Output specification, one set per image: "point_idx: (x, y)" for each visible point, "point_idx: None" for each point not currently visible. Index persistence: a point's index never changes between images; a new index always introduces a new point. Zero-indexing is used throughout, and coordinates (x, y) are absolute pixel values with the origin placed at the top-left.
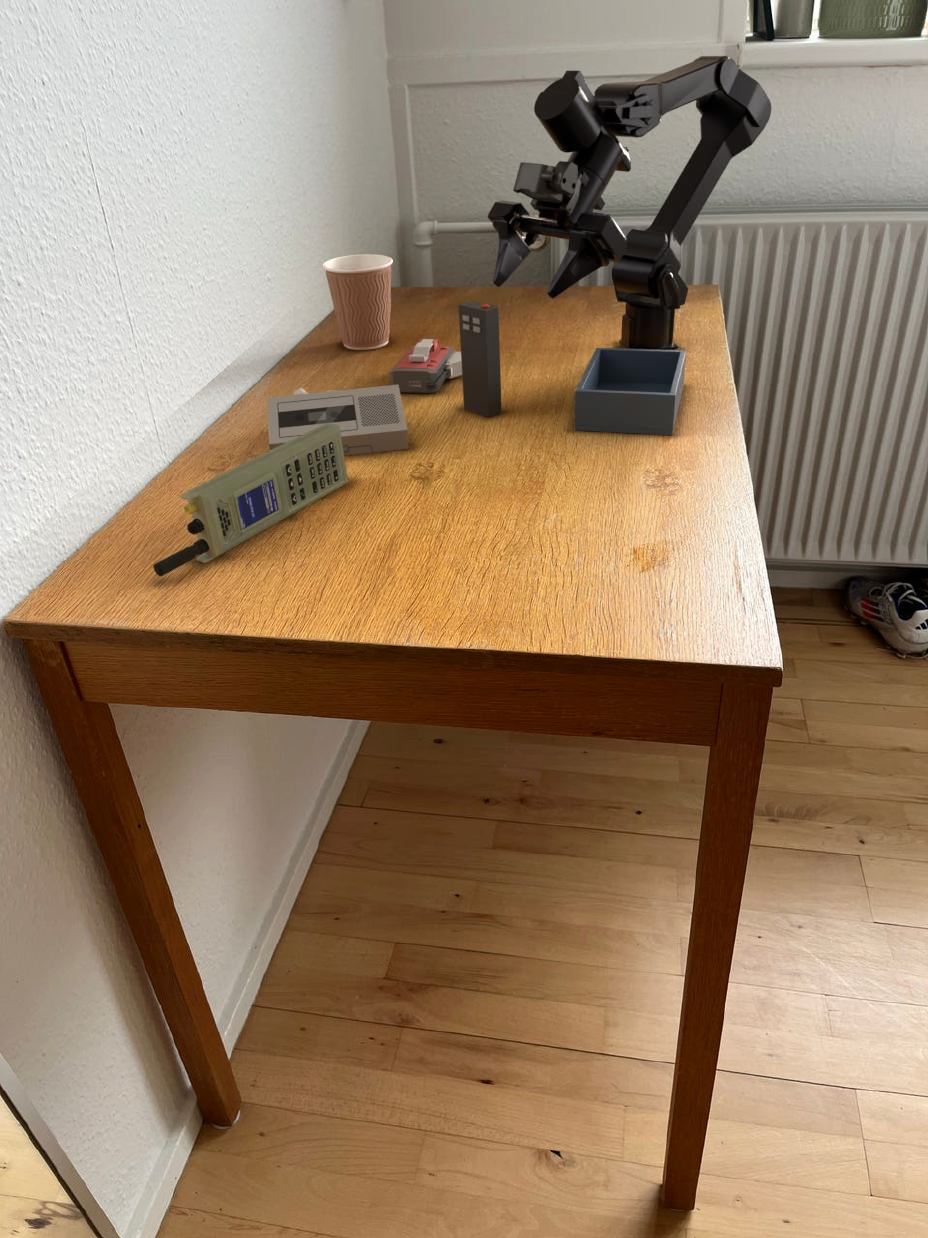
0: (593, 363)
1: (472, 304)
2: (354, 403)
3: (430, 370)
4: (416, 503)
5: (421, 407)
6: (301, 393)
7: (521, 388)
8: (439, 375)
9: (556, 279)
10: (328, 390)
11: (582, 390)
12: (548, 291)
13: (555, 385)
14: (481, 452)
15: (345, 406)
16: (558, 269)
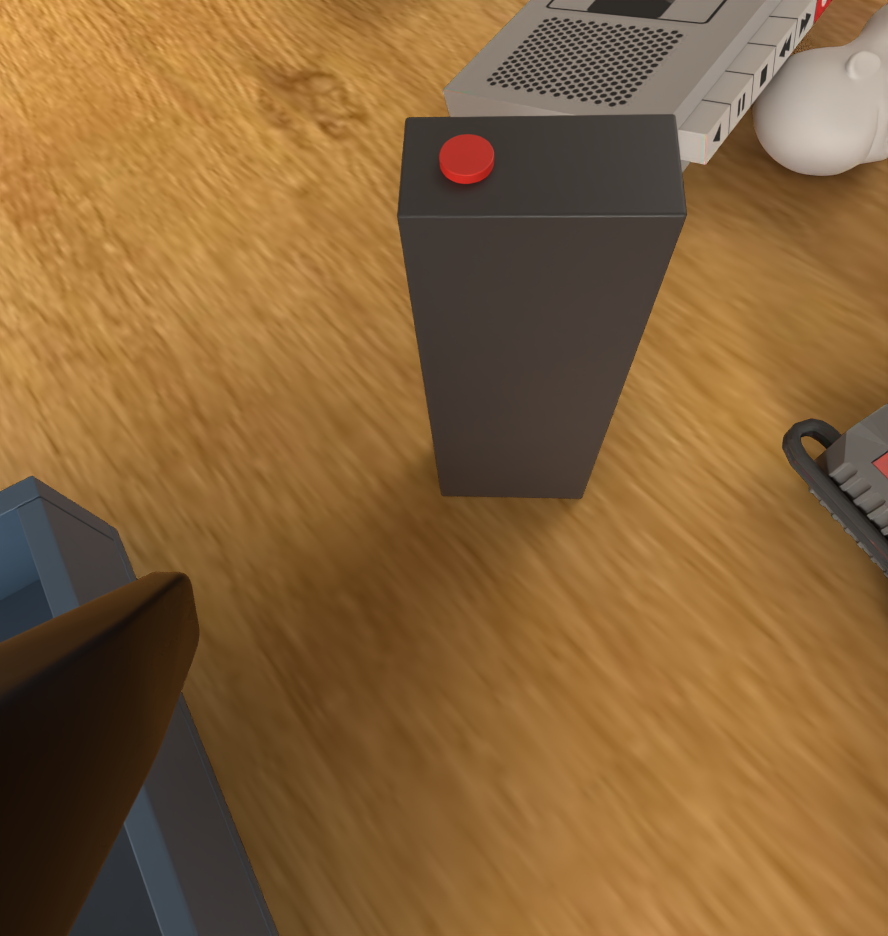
0: (136, 855)
1: (589, 156)
2: (663, 21)
3: (871, 445)
4: (217, 14)
5: (712, 362)
6: None
7: (581, 761)
8: (867, 512)
9: (52, 626)
10: (868, 52)
11: (4, 498)
12: (167, 572)
13: (484, 905)
14: (273, 247)
15: (667, 2)
16: (5, 695)
